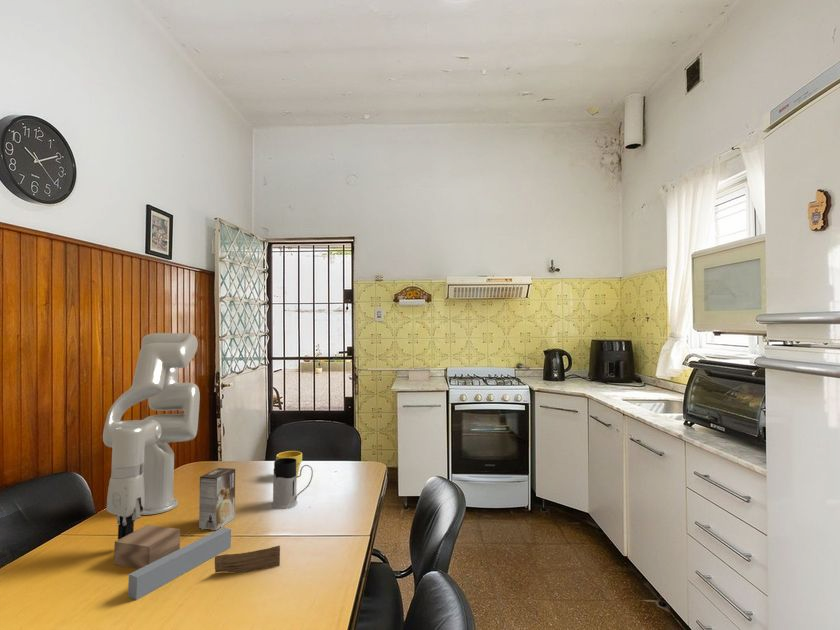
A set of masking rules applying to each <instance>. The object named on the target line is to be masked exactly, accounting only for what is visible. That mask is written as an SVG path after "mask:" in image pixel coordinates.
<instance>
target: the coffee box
mask: <svg viewBox="0 0 840 630" xmlns="http://www.w3.org/2000/svg"><path fill="white" fill-rule="evenodd" d="M198 504H199V505H198V506H199V508H198V509H199V511H198V512H199V513H198V514H199V515H198V529H199V528H201V529H200V530H204V529H211V530H210V531H214V530H217V529H218V530H219V528H220V527H221V528H223V527H225V525H226V524H228V523H230V522H231V521H232V520H234V519H235V517H236V516H235V515H236V514H235V513H236V468H227V467H217V468H216V469H213V470H211V471H209V472H207V473H205V474H203V475H200V476H199V503H198ZM221 528H220V529H221Z"/></svg>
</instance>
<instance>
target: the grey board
mask: <svg viewBox="0 0 840 630" xmlns="http://www.w3.org/2000/svg"><path fill="white" fill-rule="evenodd" d="M230 547H231V548H232V529H231V528H228V527H225V526H222V527H221V528H220V529H218V530H217V531H213V532H211V533H208V534H207V535H205V536H203V537H200V538H199V539H197V540H195V541H193V542H191V543H189V544H186V545H185V546H183V547H180V549H179V550H177V551H175V552H173V553H171V554H169V555H167V556H165V557H162V558H160V559H158V560H156V561H154V562H152V563H150V564H148V565H146V566H144V567H142V568H137V569H136V570H135V571H132V572H131V573H128V584H127V586H128V588H127V589H128V592H127V597H128V598H131V599H133V600H135V601H137V600H139V599H141V598H143V597H145V596H147V595H148V594H150V593H152V592H153V591H156V590H157V589H159V588H161V587H162V586H165V585H167V584H168V583H170V582H172V581H173V580H175V579H177V578H179V577H180V576H183V575H184V574H186V573H188V572H189V571H191V570H193V569H194V568H196V567H198V566H201V565H202V564H204V563H205V562H207V561H209V560H211V559H212V558H215V557H214V556H219V555H221V553H224V552H225V551H227V550H229V549H230ZM228 548H229V549H228Z"/></svg>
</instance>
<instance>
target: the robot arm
mask: <svg viewBox="0 0 840 630" xmlns="http://www.w3.org/2000/svg"><path fill="white" fill-rule="evenodd" d="M198 346H199V343H198V338H197V336H196V335H194V334H193V333H187V332H177V333H176V332H155V333H150V334H149V333H148V334H146V335H144V337H143V338H142V340H141V348H140V350H139V353H138V357H137V362H136V366H135V372H134V374H133V379H132V384H131V387H129V389H127V390H126V391H125V392H123V393H122V394H121V395H120V396H119V397H118V398H117V399H116V400H115V401H114V402H113V404H112V405H111V406H110V408H109V410H108V413H107V414H106V419H105V422H104V427H103V431H102V432H103V433H102V441H103V443H104V445H105V446H106V447H108V448H112V451H111V474H110V475H111V476H110V478H109V481H108V488H107V495H106V496H107V497H106V512H108V513H110V514H112V515H115V517H116V524H117V525H118V526H117V540H119V539H121V538H123V537H125V536H127V535H129V534H131V533H133V532H135V531H134V528H135V527H134V526H135V522H136V521H137V520H139V519H141V517H142V516H151V515H157V514H163V513H165V512H168V511H171V510H173V509H175V508H176V507H177V506H178V505H179V504H178V503H179V500H178V498H175V497H174V480H175V479H174V474H175V473H174V471H175V453H174V450H173V449H172V447H171V446H170V445H169V443H178V442H179V443H181V442H189V441H192V440H194V439H195V438H196V437H197V434H198V430H199V429H198V428H199V418H200V417H199V414H200V401H201V397H200V395H201V394H200V388H199V386H198V385H197V384H196V383H193V382H179V373H180V372H179V371H180V370H179V369H182V368H186V367H187V366H189V364H190V362H191V361H192V360H193V358H194V356H195V355H196V353H197V351H198ZM147 399H148V402H147V404H148V407H149V408H150V409H151V410H153V411H182V412H183V413H164V414H153V415H150V416H149V415H148V416H147V417H145V418H144V419H133V420H129V419H128V420H121V419H122V417H123V415H124V414H125V412H126V411H127V410H129V408H131V407H132V406H134V405H137V404H138V403H141V402H142V401H146V400H147Z"/></svg>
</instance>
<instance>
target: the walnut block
mask: <svg viewBox="0 0 840 630" xmlns="http://www.w3.org/2000/svg"><path fill="white" fill-rule="evenodd" d="M180 546H181V528H173V527H165V526H160V525H159V526H158V525H151V524H147V525H144V526H142V527H140V528H139V529H136V530H135V531H134V532H133V533H131V534H129V535H127V536H125V537H123V538H121V539H117V540H115V541H114V553H113V555H114V556H113V565H116V566H122V567H128V568H134V569H135V568H136V569H140V568H142V567H144V566H146V565H148V564H150V563H152V562H154V561H156V560H158V559H160V558H162V557H165V556H167V555H169V554H171V553H173V552H175V551H177V550H179V549H181V547H180Z"/></svg>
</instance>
